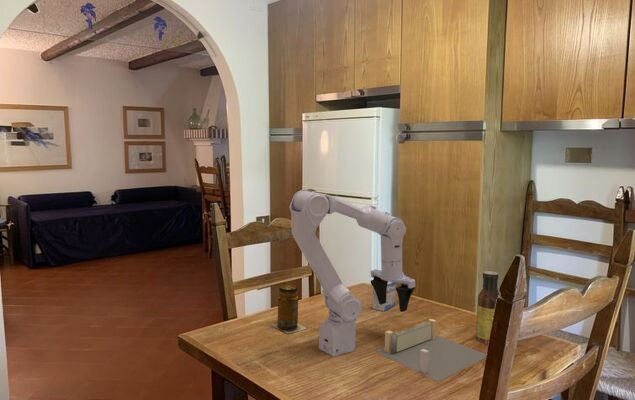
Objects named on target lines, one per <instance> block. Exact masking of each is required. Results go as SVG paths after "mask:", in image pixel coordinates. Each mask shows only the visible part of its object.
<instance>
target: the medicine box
mask: <svg viewBox="0 0 635 400" xmlns="http://www.w3.org/2000/svg"><path fill="white" fill-rule="evenodd" d="M396 285H397V283H393V282H390V281H388V284H387V291H386V303H384V304H382V305H380V304H379V301H378V298H377V294H376V292H375V290H374V288H373V287H372V309H373V310H376V311H380V312H386V311H388V310H390V309H391V308H393V307H395V305H396V288H397V286H396Z"/></svg>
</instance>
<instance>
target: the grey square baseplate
mask: <svg viewBox="0 0 635 400" xmlns="http://www.w3.org/2000/svg"><path fill="white" fill-rule="evenodd" d="M427 320H428V321H427V322H430V323H432V324H431V339H429V340H427V341H424V342H422V343H419V344H417V345H414V346H412V347H409V348H407V349H404V350H402V351H399V352H396V351H395V353H392V352H391V348H392V334H394V331H391V330H386V331H385V332H384V347H381V348H378V349H376V350H374V352H375V353H376V354H378V355H381V356H383V357H385V358H387V359H389V360H391V361H393V362H396V363H398V364H400V365H401V366H404V367H406V368H408V369H410V370H412V371H414V372H417V373H418V374H421V375H423V376H426V377H427V378H429V379H431V380H433V381H435V382H437V383H438V382H441V381H442V380H444V379H446V378H448V377H450V376H453V375H454V374H456V373H458V372H460V371H463V370H464V369H467V368H468V367H470V366H473V365H475V364H477V363H478V362H481V361H483V360H484V359H486V354H487V353H485V352H481V351H478V350H476V349H474V348H471V347H469V346H467V345H466V346H465V345H464V344H460V343H458V342H455V341H453V340H451V339H448V338H445V337H443V336H440V335H437V320H436V319H432V318H429V319H427Z"/></svg>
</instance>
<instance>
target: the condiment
mask: <svg viewBox="0 0 635 400" xmlns="http://www.w3.org/2000/svg"><path fill="white" fill-rule="evenodd" d="M278 290H279V291H278V294H279V295H278V296H277V323H273V324H271V326H272V327H273V328H275V329H277V330H279V331H282V332H283V333H285V334H292V333H296V332H300V331H304V330H307V329H308V328H307V327H305V326H304V325H302V324H299V323H298V322H299V321H298V320H299V296H298V287H297V286H295V285H289V284H286V285H281V286H280V287H279V289H278Z"/></svg>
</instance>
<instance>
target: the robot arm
mask: <svg viewBox="0 0 635 400" xmlns="http://www.w3.org/2000/svg"><path fill="white" fill-rule="evenodd" d="M289 211H290V214H291V215H290V216H291V217H290V218H291V223H290V224H291V225H290V226H291V236H292V237H293V239H294V240H295V242H296V244H297V246H298V247H299V250H300V252H301V253H302V254H303V256H304V258H305V260H306V262H307V263H308V265H309V267H310V268H311V270H312V272H313V274H314V275H315V277H316V279H317V280H318V282H319V284H320V286H321V288H322V290H321V293H322V294H323V297H324V304H325V306H326V308H327V309H328V317H327V319H326V320H324V321H322V322H321V323H320V325H319V328H318V349H319V350H320V351H322V352H324V353H326V354H328V355H330V356H332V357H336V356H339V355H341V354H347V353H351V352H353V351H355V349H356V333H357V330H356V329H357V328H356V327H357V318H358V317H359V316H360V314H361V311H362V303H361V301H360V300H359V299H358V298H357V297H355V296H354V295H353V293H352V292H351V291H350V289H348V287H347V286H346V285H345V284H344V283H343V281H342V279H341V278H340V276H339V274H338V272H337V271H336V269H335V267H334V265H333V263H332V262H331V260H330V258H329V256H328V254H327V253H326V251H325V248H323V246H322V243H321V242H320V240H319V238H318V237H317V234H316V232H317V229H318V226H320V224H321V223H322V221H323V220H324V219H325V217H326V216H327V215H332V214H333V213H337V214H340V215H343V216H346V217H349V218H351V219H354V220H356V223H357V225H358V226H359V227H360V228H363V229H366V230H369V231H372V232H373V233H377V234H378V235H380V261H381V264H380V265H381V267H380V268H381V269H377V268H375V269H372V270H370V278H372V279H371V280H370V284H371V286H372V289H373V288H374V290H375V292H376V294H377V298H378V301H379V304H380V305H382V304H384V303H386V291H387V284H388V281H390V282H393V283H396V285H399V286H396V287H395V292H396V293H397V296H398V306H399V312H401V313H403V312H405V311H407V310H408V306H409V302H410V299H411V297H412V294H413V293H414V290H416V279H414V278H411V277H409V276H407V275H405V274H404V272H403V242H404V236H405V235H406V232H407V226H405V223H404V221H403V219H401V218H399V217H397V216H392V215H391V213H390V212H387V211H384V212H383V211H381V210H379V209H377V206H375V205H369V206H368V205H365V206H363V207H358V206H357V205H354V204H352V203H349V202H348V201H346V200H343V199H340V198H339V197H336V196H332V195H327V194H323V193H321V192H312V191H309V190H306V189H301V190H299V191H297V192H296V193H294V195H293V197H292V200H291V202H290V205H289Z"/></svg>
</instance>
